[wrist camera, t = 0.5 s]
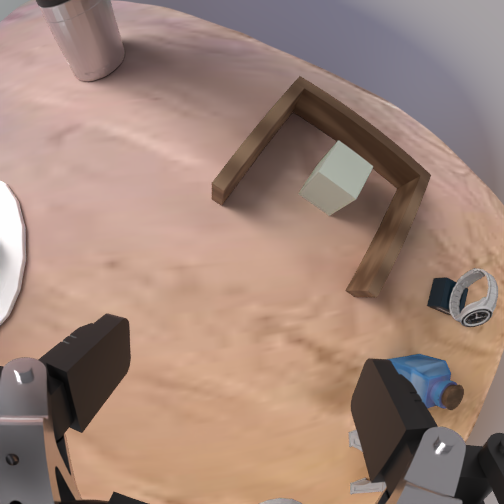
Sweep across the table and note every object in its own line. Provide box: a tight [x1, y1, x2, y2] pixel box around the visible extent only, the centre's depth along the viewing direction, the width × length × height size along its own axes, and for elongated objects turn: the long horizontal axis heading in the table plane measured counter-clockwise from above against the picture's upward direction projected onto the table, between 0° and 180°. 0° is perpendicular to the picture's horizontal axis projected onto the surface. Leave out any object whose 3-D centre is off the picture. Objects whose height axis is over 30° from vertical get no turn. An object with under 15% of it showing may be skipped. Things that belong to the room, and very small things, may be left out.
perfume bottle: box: [387, 354, 464, 410], centre depth 32 cm, size 6×6×12 cm
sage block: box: [298, 140, 374, 216], centre depth 35 cm, size 5×5×8 cm
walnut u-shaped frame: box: [212, 76, 431, 297], centre depth 36 cm, size 19×22×6 cm
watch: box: [427, 268, 498, 327], centre depth 34 cm, size 6×8×11 cm
